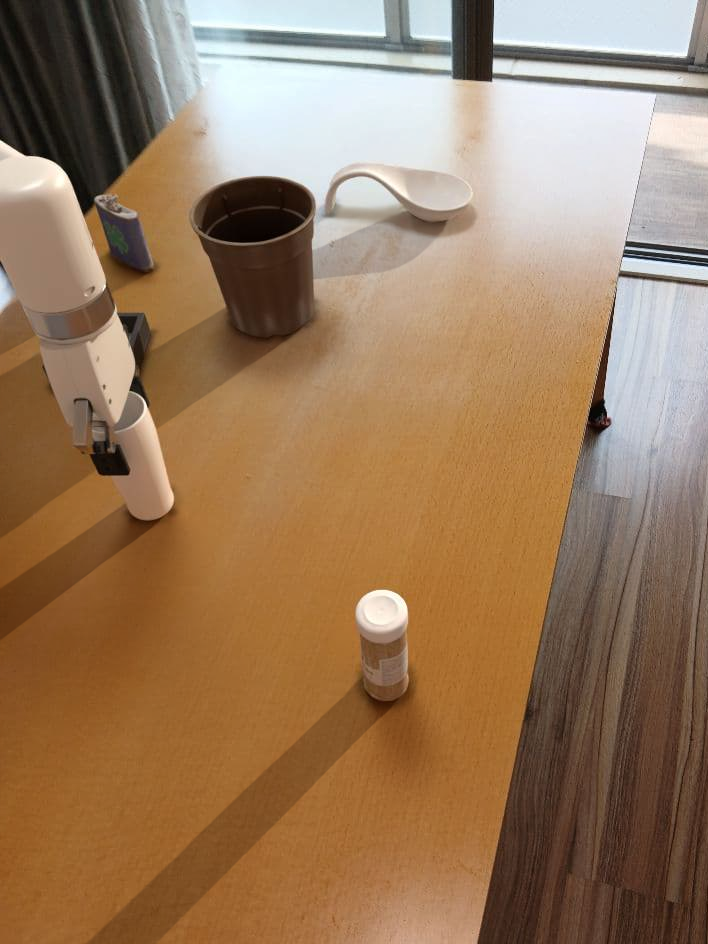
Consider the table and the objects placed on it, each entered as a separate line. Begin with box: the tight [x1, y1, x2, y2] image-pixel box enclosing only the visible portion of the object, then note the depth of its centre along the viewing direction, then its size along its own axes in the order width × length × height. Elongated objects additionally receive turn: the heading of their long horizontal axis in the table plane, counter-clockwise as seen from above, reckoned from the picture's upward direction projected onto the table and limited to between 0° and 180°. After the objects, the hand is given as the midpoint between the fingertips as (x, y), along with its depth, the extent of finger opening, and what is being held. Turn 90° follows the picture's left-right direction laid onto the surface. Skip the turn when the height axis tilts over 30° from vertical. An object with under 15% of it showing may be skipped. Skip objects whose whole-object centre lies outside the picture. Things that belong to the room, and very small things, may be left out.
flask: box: [93, 193, 155, 273], centre depth 121 cm, size 9×3×11 cm, turn 50°
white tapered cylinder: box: [92, 391, 175, 521], centre depth 89 cm, size 7×7×15 cm
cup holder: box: [41, 312, 152, 383], centre depth 110 cm, size 11×11×4 cm
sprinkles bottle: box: [355, 589, 410, 702], centre depth 75 cm, size 5×5×13 cm
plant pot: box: [188, 175, 317, 339], centre depth 110 cm, size 16×16×16 cm
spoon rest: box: [324, 161, 474, 223], centre depth 129 cm, size 24×12×7 cm, turn 85°
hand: (125, 439), depth 87 cm, fingers open, 9 cm apart
